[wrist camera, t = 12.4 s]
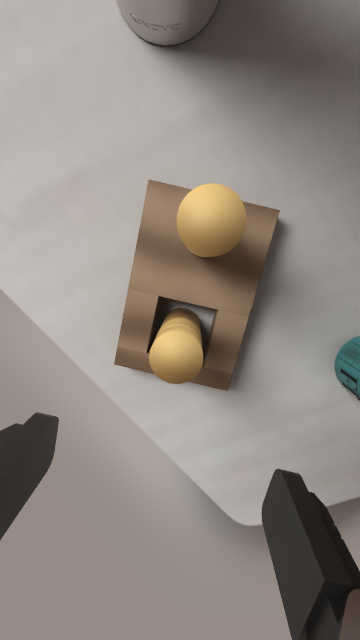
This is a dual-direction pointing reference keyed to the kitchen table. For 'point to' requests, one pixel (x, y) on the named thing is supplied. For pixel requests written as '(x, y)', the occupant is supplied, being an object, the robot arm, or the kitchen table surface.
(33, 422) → the robot arm
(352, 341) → the beverage bottle
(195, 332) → the pin
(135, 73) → the kitchen table surface
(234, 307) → the pin plate
